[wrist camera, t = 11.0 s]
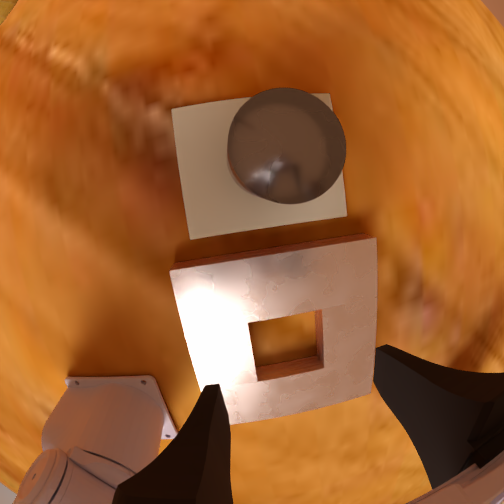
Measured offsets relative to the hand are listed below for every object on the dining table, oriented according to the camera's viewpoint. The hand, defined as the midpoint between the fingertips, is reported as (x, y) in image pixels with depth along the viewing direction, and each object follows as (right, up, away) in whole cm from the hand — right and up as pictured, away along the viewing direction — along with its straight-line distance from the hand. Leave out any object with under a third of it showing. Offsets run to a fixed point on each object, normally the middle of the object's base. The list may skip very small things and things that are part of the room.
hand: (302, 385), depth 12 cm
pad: (-2, +12, +7) cm, 14 cm away
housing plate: (0, -1, +10) cm, 10 cm away
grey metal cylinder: (-2, +12, +7) cm, 14 cm away
